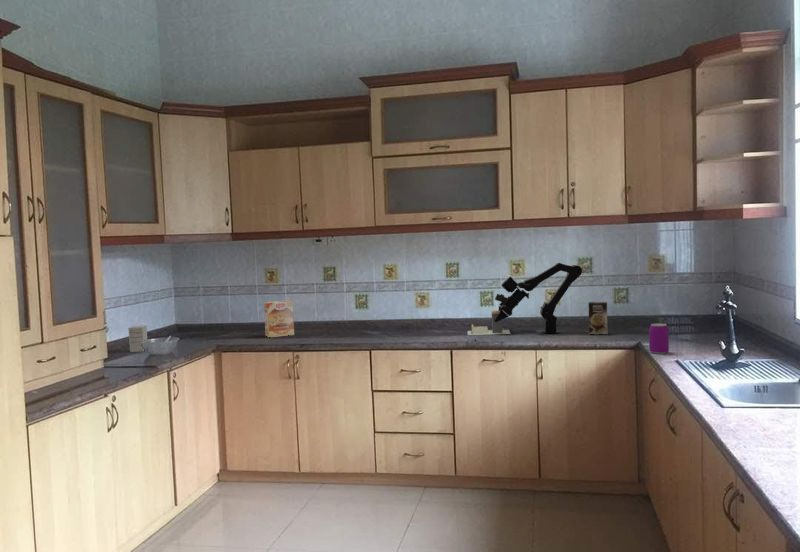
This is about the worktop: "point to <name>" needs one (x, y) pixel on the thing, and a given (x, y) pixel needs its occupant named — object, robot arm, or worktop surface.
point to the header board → (484, 331)
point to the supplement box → (137, 337)
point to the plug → (496, 323)
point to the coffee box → (597, 317)
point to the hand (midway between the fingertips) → (494, 320)
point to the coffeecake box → (279, 318)
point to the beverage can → (659, 338)
